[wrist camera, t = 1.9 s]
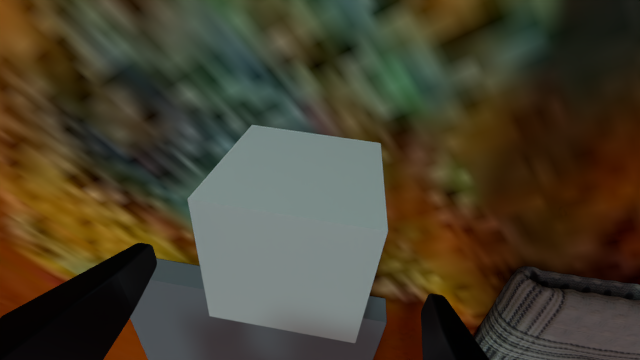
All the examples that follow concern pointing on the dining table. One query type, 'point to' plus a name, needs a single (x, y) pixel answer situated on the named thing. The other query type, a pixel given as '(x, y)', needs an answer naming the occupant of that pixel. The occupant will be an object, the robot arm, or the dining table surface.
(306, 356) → the slate board
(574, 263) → the dining table surface
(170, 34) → the dining table surface
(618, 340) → the dish towel
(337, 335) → the white cube
